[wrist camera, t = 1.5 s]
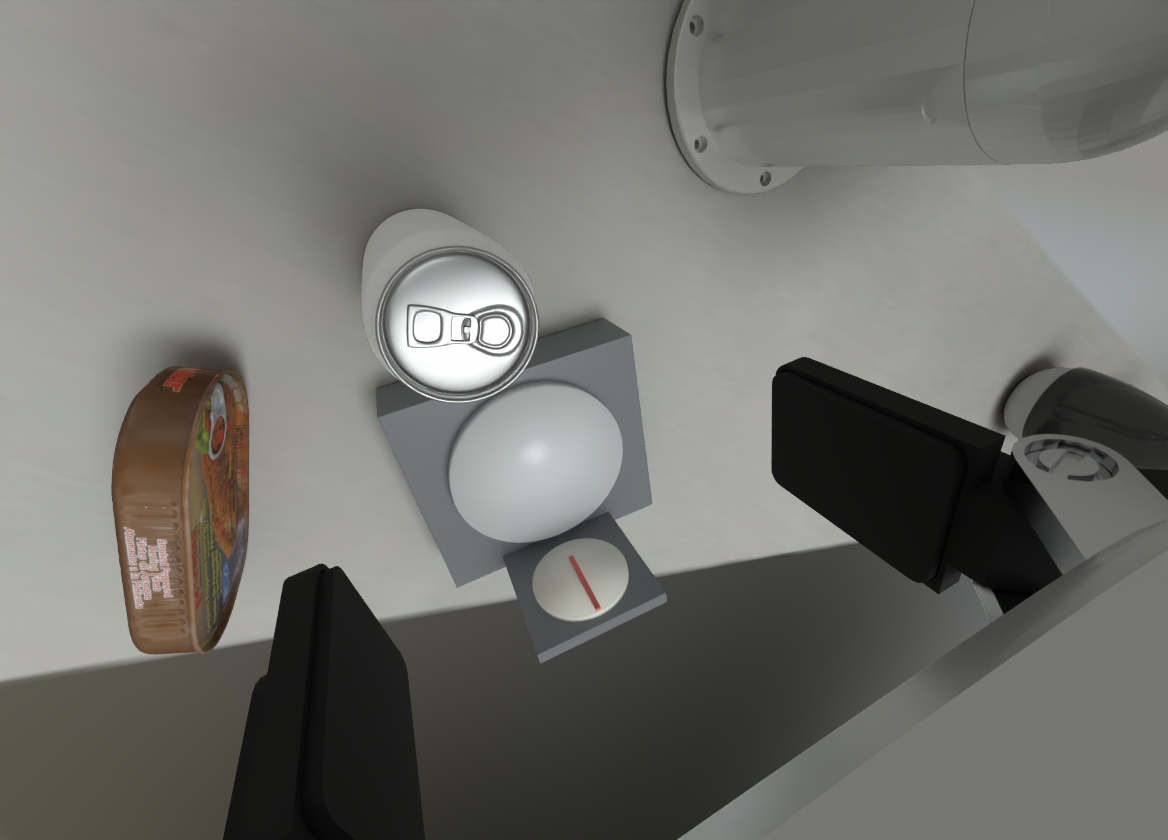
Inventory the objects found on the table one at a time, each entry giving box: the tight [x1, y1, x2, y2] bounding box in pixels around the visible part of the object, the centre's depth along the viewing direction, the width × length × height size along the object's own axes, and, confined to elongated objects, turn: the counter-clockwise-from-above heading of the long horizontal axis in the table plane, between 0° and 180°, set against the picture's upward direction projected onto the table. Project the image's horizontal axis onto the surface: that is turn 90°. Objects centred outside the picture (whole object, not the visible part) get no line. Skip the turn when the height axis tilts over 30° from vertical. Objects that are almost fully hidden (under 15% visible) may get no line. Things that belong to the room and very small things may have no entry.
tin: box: [112, 367, 249, 654], centre depth 23 cm, size 15×3×8 cm, turn 163°
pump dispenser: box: [1004, 367, 1168, 470], centre depth 51 cm, size 10×10×15 cm
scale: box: [376, 318, 667, 663], centre depth 29 cm, size 14×15×12 cm
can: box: [362, 209, 539, 403], centre depth 21 cm, size 6×6×12 cm
